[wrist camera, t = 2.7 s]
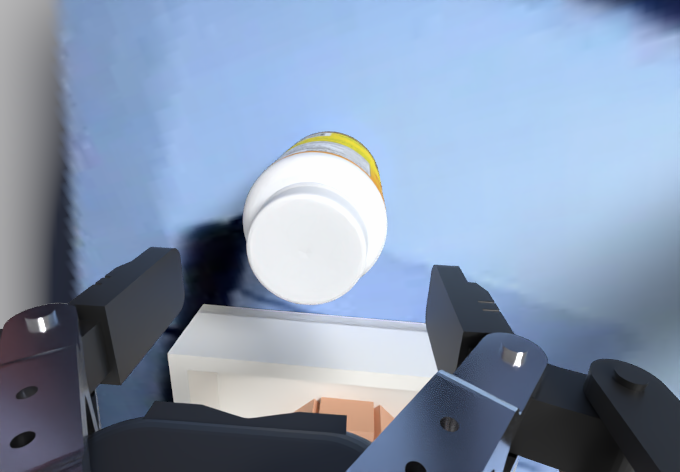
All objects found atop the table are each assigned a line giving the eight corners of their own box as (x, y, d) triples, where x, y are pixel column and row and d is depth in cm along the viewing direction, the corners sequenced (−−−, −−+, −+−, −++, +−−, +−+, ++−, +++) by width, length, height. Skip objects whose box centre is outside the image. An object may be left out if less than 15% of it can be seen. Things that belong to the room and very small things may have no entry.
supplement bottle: (351, 241, 23) (341, 351, 14) (267, 198, 23) (195, 283, 13) (399, 159, 21) (426, 221, 12) (308, 109, 21) (259, 133, 11)
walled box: (203, 304, 25) (167, 353, 21) (509, 330, 25) (542, 387, 20) (221, 520, 34) (198, 590, 29) (451, 544, 33) (465, 620, 28)
